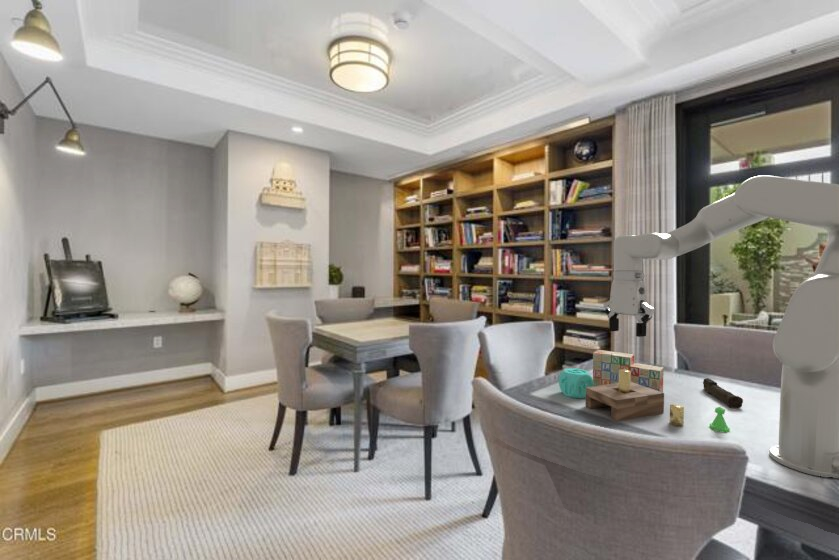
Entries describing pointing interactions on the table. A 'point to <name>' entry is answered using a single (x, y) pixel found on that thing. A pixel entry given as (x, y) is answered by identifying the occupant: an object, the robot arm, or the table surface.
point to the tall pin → (624, 381)
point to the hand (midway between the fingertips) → (627, 333)
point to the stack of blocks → (612, 362)
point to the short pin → (676, 415)
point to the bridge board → (626, 400)
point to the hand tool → (722, 394)
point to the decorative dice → (575, 382)
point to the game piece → (719, 421)
